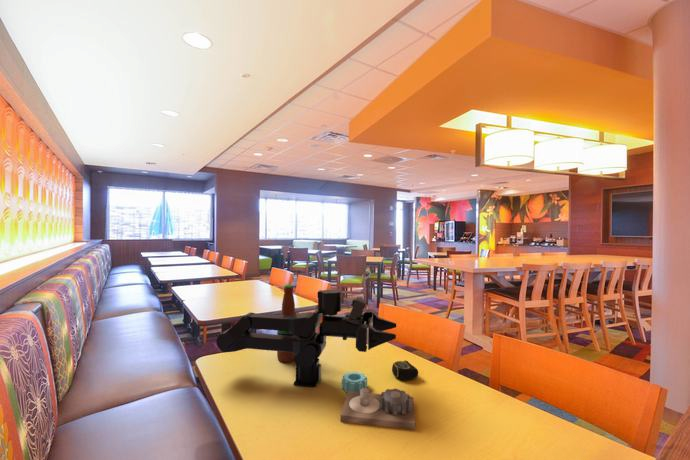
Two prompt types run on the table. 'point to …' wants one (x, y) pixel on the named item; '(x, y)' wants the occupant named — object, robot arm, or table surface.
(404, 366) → the tape measure
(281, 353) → the bottle
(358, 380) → the teal gear
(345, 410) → the gear board
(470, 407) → the table surface
